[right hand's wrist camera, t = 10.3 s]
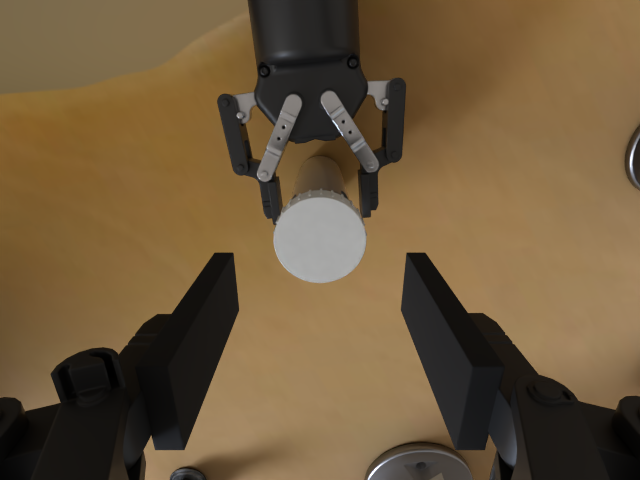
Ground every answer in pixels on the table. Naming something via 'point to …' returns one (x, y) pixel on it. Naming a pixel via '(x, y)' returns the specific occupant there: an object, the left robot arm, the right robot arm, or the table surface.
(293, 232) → the lid
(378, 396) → the table surface
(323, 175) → the bottle
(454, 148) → the table surface
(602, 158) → the table surface
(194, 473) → the salt shaker
